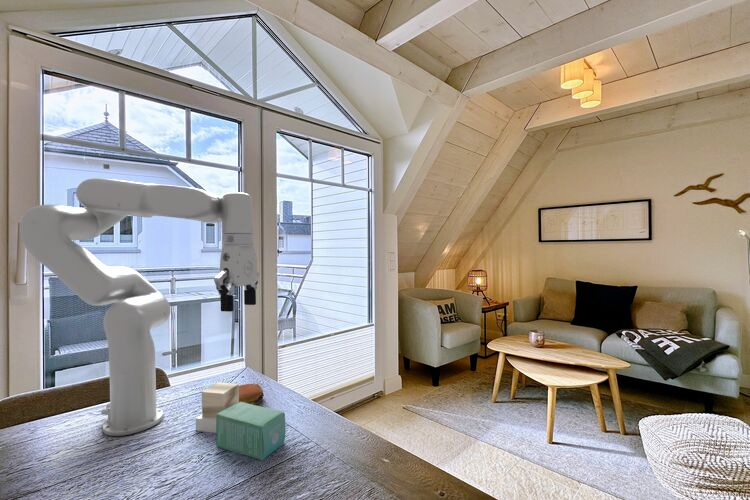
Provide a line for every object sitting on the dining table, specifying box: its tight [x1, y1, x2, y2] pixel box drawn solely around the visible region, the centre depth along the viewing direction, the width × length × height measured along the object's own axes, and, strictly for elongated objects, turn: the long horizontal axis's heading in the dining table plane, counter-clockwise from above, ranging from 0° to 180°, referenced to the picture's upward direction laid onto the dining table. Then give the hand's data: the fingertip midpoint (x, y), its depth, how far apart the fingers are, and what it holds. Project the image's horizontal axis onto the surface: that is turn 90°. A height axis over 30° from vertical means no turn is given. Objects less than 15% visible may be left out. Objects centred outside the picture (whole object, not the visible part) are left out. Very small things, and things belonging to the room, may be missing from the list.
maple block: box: [201, 381, 240, 418], centre depth 87 cm, size 6×6×6 cm
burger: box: [239, 383, 265, 406], centre depth 99 cm, size 10×9×5 cm
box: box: [215, 402, 286, 461], centre depth 77 cm, size 7×14×8 cm, turn 66°
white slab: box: [195, 413, 216, 434], centre depth 87 cm, size 8×8×3 cm
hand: (239, 307), depth 90 cm, fingers open, 9 cm apart
